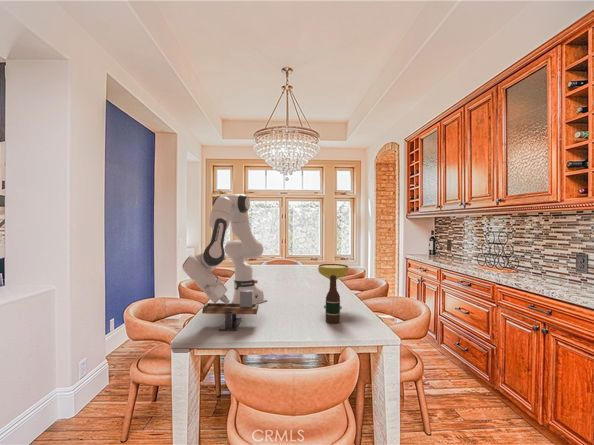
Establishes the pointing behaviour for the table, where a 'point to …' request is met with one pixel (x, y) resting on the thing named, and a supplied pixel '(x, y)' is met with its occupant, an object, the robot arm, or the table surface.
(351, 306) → the table surface
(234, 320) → the pivot stand
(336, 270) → the cocktail glass
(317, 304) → the table surface
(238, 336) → the table surface
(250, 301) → the block
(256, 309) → the balance beam
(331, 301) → the beer bottle
